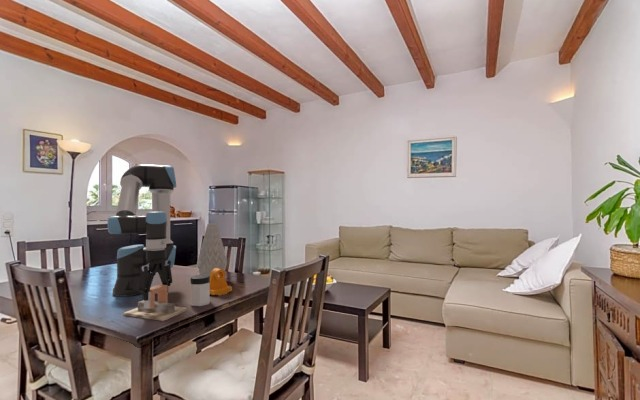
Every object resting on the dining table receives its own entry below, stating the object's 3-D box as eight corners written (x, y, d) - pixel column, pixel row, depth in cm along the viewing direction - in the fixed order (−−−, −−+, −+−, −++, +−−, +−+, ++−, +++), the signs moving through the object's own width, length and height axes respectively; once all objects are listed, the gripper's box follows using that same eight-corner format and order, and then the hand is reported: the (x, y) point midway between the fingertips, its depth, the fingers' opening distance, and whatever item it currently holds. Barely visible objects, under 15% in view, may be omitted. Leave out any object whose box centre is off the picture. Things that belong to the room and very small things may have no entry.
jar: (204, 299, 154) (204, 273, 154) (214, 302, 148) (214, 276, 148) (186, 304, 147) (186, 276, 147) (195, 307, 141) (195, 279, 142)
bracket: (213, 296, 158) (213, 271, 158) (205, 294, 163) (205, 269, 163) (232, 292, 166) (232, 268, 166) (225, 289, 171) (225, 266, 171)
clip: (144, 307, 132) (144, 289, 132) (159, 302, 140) (160, 284, 140) (152, 308, 131) (152, 289, 131) (167, 303, 138) (167, 285, 138)
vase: (222, 285, 179) (222, 224, 180) (192, 285, 180) (192, 224, 180) (231, 278, 196) (231, 222, 196) (203, 278, 196) (203, 222, 197)
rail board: (123, 315, 132) (123, 305, 132) (149, 305, 144) (149, 296, 144) (163, 320, 126) (163, 310, 126) (187, 310, 138) (187, 300, 138)
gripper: (142, 253, 124) (142, 314, 124) (181, 246, 144) (181, 298, 144) (127, 252, 127) (127, 311, 126) (168, 245, 146) (167, 297, 146)
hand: (156, 304), depth 135 cm, fingers closed on clip, 8 cm apart
